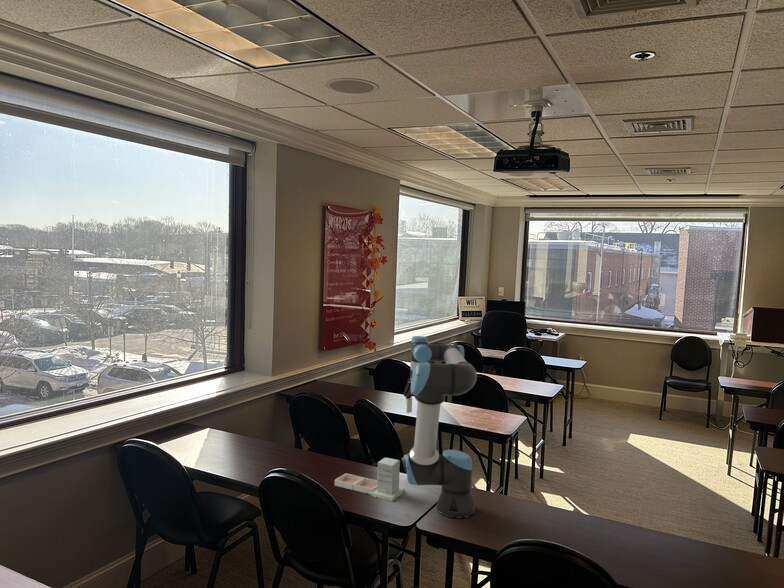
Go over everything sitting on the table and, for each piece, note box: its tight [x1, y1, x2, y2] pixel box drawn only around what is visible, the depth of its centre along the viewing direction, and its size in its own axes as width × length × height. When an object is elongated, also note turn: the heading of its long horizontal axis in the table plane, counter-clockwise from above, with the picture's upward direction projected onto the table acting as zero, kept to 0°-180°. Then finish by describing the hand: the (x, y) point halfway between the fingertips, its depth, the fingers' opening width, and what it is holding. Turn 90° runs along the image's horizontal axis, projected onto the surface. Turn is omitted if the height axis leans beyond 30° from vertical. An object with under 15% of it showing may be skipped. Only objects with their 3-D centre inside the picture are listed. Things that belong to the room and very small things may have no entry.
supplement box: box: [376, 457, 401, 495], centre depth 236 cm, size 7×7×13 cm
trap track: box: [334, 473, 406, 502], centre depth 240 cm, size 29×12×2 cm, turn 63°
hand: (416, 416), depth 253 cm, fingers open, 13 cm apart
